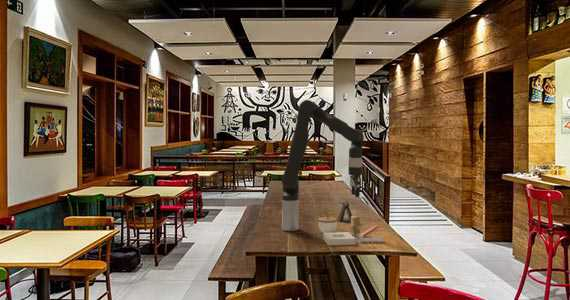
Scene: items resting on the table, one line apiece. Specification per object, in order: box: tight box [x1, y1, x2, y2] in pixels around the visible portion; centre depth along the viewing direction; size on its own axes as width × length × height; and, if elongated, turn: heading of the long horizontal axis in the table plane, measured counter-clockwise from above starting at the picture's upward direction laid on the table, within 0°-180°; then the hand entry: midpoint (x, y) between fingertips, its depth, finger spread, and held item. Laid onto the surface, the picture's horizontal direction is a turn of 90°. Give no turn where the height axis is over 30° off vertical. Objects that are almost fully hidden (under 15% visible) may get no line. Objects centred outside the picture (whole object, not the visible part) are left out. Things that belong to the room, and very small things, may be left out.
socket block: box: [322, 231, 357, 246], centre depth 223 cm, size 14×14×3 cm
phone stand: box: [337, 200, 353, 223], centre depth 274 cm, size 9×6×12 cm, turn 95°
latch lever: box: [358, 224, 380, 238], centre depth 224 cm, size 12×3×2 cm, turn 94°
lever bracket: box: [354, 232, 385, 244], centre depth 224 cm, size 14×7×3 cm, turn 95°
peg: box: [350, 215, 361, 237], centre depth 237 cm, size 4×4×10 cm
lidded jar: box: [317, 215, 338, 234], centre depth 243 cm, size 11×11×9 cm
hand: (355, 195), depth 236 cm, fingers open, 8 cm apart
